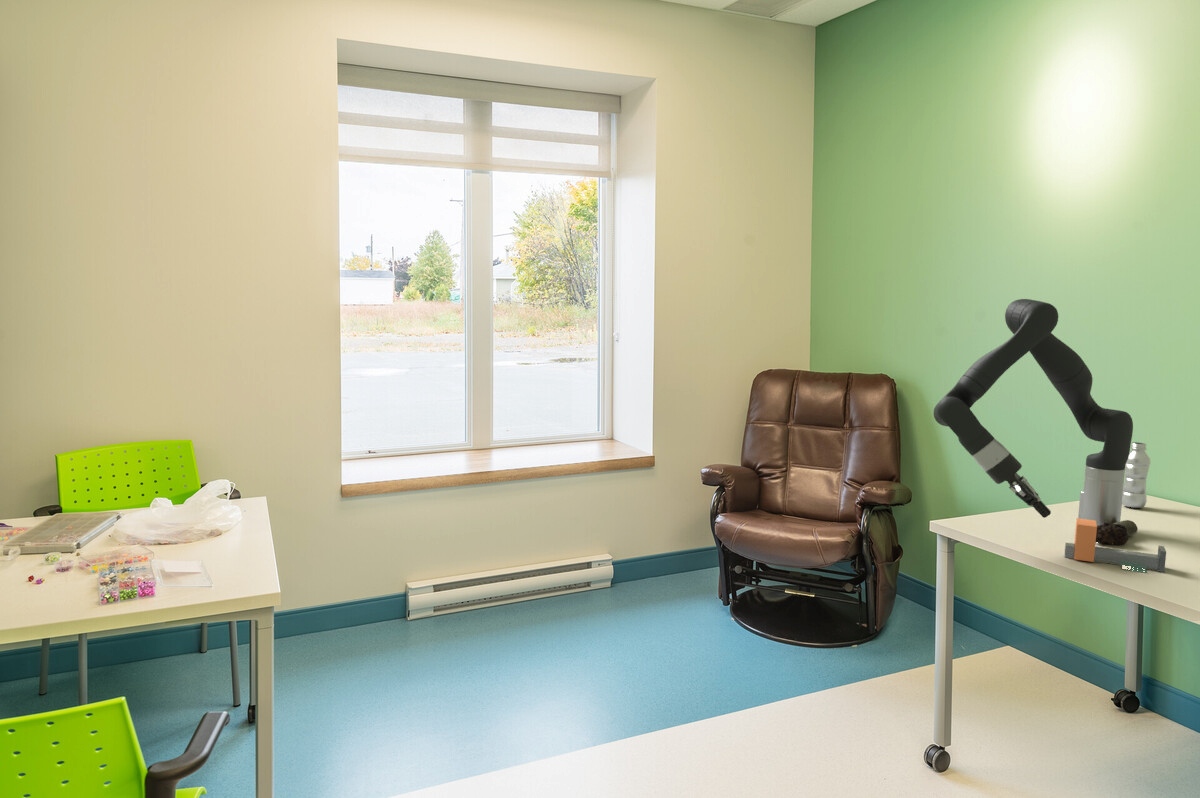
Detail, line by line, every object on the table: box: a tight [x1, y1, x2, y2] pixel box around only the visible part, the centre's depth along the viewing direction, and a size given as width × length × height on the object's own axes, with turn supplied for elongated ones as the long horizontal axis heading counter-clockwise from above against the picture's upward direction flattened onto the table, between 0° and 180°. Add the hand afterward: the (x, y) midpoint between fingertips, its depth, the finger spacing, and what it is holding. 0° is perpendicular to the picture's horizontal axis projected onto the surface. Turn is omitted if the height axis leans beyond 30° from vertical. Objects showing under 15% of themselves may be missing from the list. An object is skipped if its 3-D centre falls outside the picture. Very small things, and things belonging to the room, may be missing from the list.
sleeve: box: [1073, 517, 1097, 563], centre depth 197 cm, size 4×7×9 cm, turn 151°
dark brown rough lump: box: [1096, 519, 1138, 547], centre depth 212 cm, size 18×7×6 cm, turn 125°
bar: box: [1064, 542, 1167, 574], centre depth 194 cm, size 20×10×5 cm, turn 61°
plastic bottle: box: [1122, 441, 1151, 509], centre depth 248 cm, size 6×7×20 cm
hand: (1047, 515), depth 200 cm, fingers closed
